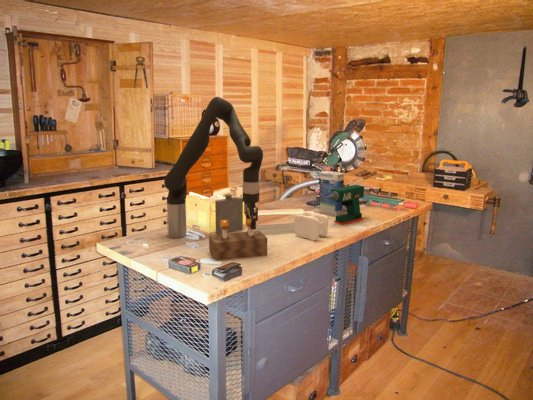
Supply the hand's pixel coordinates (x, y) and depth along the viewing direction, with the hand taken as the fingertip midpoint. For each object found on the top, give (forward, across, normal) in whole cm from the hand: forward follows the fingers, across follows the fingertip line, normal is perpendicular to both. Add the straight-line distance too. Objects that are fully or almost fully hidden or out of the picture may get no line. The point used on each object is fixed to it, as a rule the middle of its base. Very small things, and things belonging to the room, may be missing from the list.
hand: (250, 226), depth 199 cm
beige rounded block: (+12, -14, +36) cm, 41 cm away
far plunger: (+11, 0, 0) cm, 11 cm away
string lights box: (+12, -52, +66) cm, 85 cm away
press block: (+12, 0, -6) cm, 14 cm away
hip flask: (+12, -34, -2) cm, 36 cm away
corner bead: (+13, -26, +21) cm, 36 cm away
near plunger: (+11, 0, -12) cm, 16 cm away
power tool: (+12, -32, +63) cm, 72 cm away
